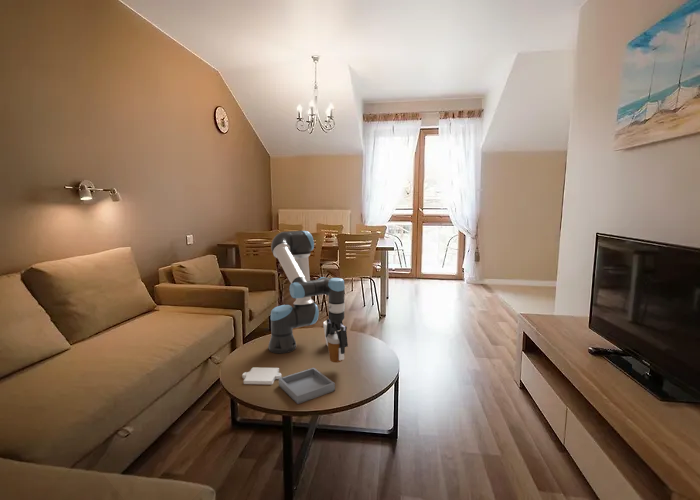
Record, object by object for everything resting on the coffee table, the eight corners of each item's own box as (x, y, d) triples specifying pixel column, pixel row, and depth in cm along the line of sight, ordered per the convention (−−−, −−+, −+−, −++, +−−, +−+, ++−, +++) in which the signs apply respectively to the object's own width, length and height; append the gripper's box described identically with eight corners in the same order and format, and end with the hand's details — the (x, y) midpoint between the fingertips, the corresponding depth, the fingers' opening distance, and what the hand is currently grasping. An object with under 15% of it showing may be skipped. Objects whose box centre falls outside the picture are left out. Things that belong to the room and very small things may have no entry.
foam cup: (339, 347, 202) (339, 325, 200) (323, 347, 202) (322, 325, 200) (340, 341, 211) (340, 319, 210) (324, 341, 212) (324, 319, 210)
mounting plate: (238, 384, 163) (238, 380, 163) (247, 371, 176) (247, 367, 176) (277, 385, 163) (277, 381, 162) (284, 371, 175) (284, 367, 175)
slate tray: (278, 385, 161) (278, 378, 161) (314, 374, 172) (313, 367, 171) (297, 404, 147) (297, 396, 146) (334, 390, 157) (334, 383, 157)
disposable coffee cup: (343, 365, 170) (343, 340, 168) (324, 363, 172) (324, 339, 170) (348, 356, 179) (348, 333, 177) (329, 354, 181) (329, 331, 179)
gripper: (318, 306, 178) (318, 350, 181) (342, 318, 161) (342, 366, 164) (331, 303, 182) (331, 346, 186) (356, 315, 165) (355, 362, 169)
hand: (336, 356), depth 175 cm, fingers closed on disposable coffee cup, 8 cm apart
